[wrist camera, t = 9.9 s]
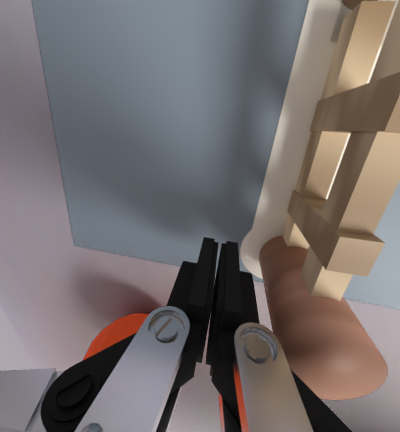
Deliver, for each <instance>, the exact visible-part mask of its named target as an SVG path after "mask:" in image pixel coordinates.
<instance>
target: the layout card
mask: <svg viewBox="0 0 400 432" xmlns="http://www.w3.org/2000/svg"><path fill="white" fill-rule="evenodd" d="M378 1H396V2H395V5H394V8H393V10H392V13H391V16H390V19H389V22H388V25H387V27H386V30H385V33H384V36H383V39H382V41H381V44H380V47H379V50H378V53H377V55H376V58H375V61H374V64H373V67H372V70H371V72H370V75H369V78H368V81H367V83H369V82H370V79H371V76H372V73H373V71H374V68H375V65H376V62H377V60H378V57H379V54H380V51H381V48H382V46H383V43H384V40H385V37H386V35H387V32H388V29H389V26H390V23H391V21H392V18H393V15H394V12H395V9H396V7H397V4H398V1H399V0H378ZM32 6H33V11H34V17H35V23H36V29H37V34H38V40H39V46H40V52H41V57H42V63H43V69H44V75H45V80H46V86H47V92H48V98H49V103H50V109H51V115H52V121H53V126H54V132H55V138H56V144H57V149H58V155H59V161H60V167H61V172H62V178H63V184H64V189H65V195H66V201H67V207H68V212H69V218H70V224H71V230H72V235H73V241H74V246H79V247H84V248H89V249H94V250H99V251H104V252H109V253H114V254H119V255H125V256H130V257H135V258H140V259H145V260H150V261H155V262H160V263H165V264H170V265H175V266H181V265H182V262H183V261H188V262H193V263H197V262H198V258H199V254H200V250H201V246H202V242H203V238H204V237H207V238H213V239H215V240H214V242H219V244H218V253H217V263H216V272H217V267H218V261H219V256H220V250H221V245H222V243H225V244H226V241H231V242H237V243H238V248H239V264H240V271H244V272H249V273H252V276H253V281H257V282H262V283H263V278H262V272H261V267H260V262H259V253H260V250H261V248H262V247H263V245H264V244H265V243H266V242H267V241H269V240H270V239H272V238H274V237H277V236H282V234H283V231H284V227H285V224H286V220H287V217H288V212H287V210H288V206H289V202H290V199H291V195H292V192H293V190H295V188H296V185H297V181H298V178H299V174H300V171H301V167H302V164H303V160H304V157H305V153H306V150H307V146H308V143H309V139H310V136H311V132H312V131H310V127H311V124H312V120H313V117H314V113H315V109H316V106H317V102H318V101H319V100H321V97H322V93H323V90H324V86H325V83H326V79H327V76H328V72H329V69H330V65H331V62H332V58H333V55H334V51H335V48H336V44H337V41H338V37H339V34H340V30H341V26H342V23H343V20H344V19H345V18H346V17H347V15H348V14H349V13H350V12H351V11H352V10H350V9H348V8H347V7H346V6H345V5H344V3H343V1H342V0H32ZM350 135H351V134H348V137H347V140H346V143H345V146H344V148H343V151H342V154H341V157H340V160H339V162H338V165H337V168H336V171H335V174H334V176H333V179H332V182H331V185H330V188H329V191H328V193H327V196H326V199H328V196H329V193H330V190H331V188H332V185H333V182H334V179H335V176H336V174H337V171H338V168H339V165H340V162H341V160H342V157H343V154H344V151H345V149H346V146H347V143H348V140H349V137H350ZM374 235H375V236H377V237H378V238H379V239H381V240H382V241H383V242H385V245H384V247H383V249H382V250H381V252H380V254H379V256H378V258H377V260H376V262H375V263H374V265H373V267H372V269H371V271H370V273H369V275H368V277H366V276H360V275H353V276H352V278H351V280H350V282H349V284H348V286H347V288H346V290H345V292H344V294H343V298H344V299H349V300H354V301H359V302H364V303H369V304H374V305H379V306H384V307H389V308H394V309H399V310H400V181H399V183H398V185H397V187H396V189H395V192H394V194H393V196H392V198H391V200H390V202H389V204H388V206H387V208H386V210H385V212H384V214H383V216H382V218H381V220H380V222H379V224H378V226H377V228H376V230H375V232H374ZM309 246H310V245H309ZM216 272H215V273H216Z"/></svg>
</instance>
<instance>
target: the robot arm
mask: <svg viewBox="0 0 400 432" xmlns="http://www.w3.org/2000/svg"><path fill="white" fill-rule="evenodd" d="M214 240H215V239H213V238H207V237H204V238H203V242H202V246H201V250H200V254H199V258H198V262H197V263H193V262H188V261H183V262H182V265H181V267H180V270H179V273H178V276H177V279H176V281H175V284H174V287H173V290H172V292H171V295H170V298H169V301H168V304H167V306H163V307H160V308H157V309H155V310H154V311H152V312H151V313H150V314H149V315H148V316H147V318H146V319H145V321H144V322H143V324H142V326H141V327H140V329H139V330H138V332H136V333H134V334H132V335H131V336H129V337H127V338H125V339H123V340H121V341H119V342H117V343H115V344H113V345H112V346H110V347H108V348H106V349H104V350H102V351H100V352H98V353H96V354H94V355H93V356H91V357H89V358H87V359H85V360H83V361H81V362H79V363H77V364H75V365H74V366H72V367H70V368H69V369H67V370H66V371H60V372H57V371H56V369H55V368H51V369H30V370H10V371H0V432H168V430H169V427H170V424H171V421H172V418H173V415H174V411H175V408H176V405H177V402H178V399H179V396H180V393H181V390H182V386H183V385H184V384H185V383H186V382H188V381H189V380H190V379H191V378H193V377H194V371H195V365H196V362H199V363H202V357H203V352H204V346H205V341H206V336H207V330H208V325H209V319H210V326H209V336H208V345H207V354H206V364H208V365H211V368H210V375H211V376H212V382H213V384H214V385H215V387H216V389H217V390H218V392H219V407H220V421H221V432H352V431H351V430H350V429H349V428H348V427H347V426H346V425H345V424H344V423H343V422H342V421H341V420H340V419H339V418H338V417H337V416H336V415H335V414H334V413H333V412H332V411H331V410H330V409H329V408H328V407H327V406H326V405H325V404H324V403H323V402H322V401H321V399H320V398H319V397H318V396H317V395H316V394H315V393H314V392H313V391H312V390H311V389H310V388H309V387H308V386H307V385H306V384H305V383H304V382H303V381H302V380H301V379H300V378H299V377H298V376H297V375H296V374H295V373H294V372H293V371H292V370H291V369H290V367H289V365H288V362H287V359H286V357H285V354H284V351H283V349H282V346H281V344H280V342H279V340H278V338H277V337H276V336H275V335H274V333H273V332H272V331H270V330H269V329H268V328H266V327H265V326H263V325H260V324H259V317H258V310H257V303H256V296H255V289H254V283H253V276H252V273H249V272H244V271H240V264H239V248H238V243H237V242H231V241H226V244H225V243H222V245H221V250H220V256H219V261H218V267H217V272H216V263H217V253H218V244H219V242H214ZM215 272H216V278H215ZM214 281H215V283H214ZM211 307H212V308H211ZM210 314H211V317H210Z"/></svg>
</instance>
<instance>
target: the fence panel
mask: <svg viewBox="0 0 400 432" xmlns="http://www.w3.org/2000/svg"><path fill="white" fill-rule="evenodd" d="M395 2H396V1H361V2H360V3H359V4H358V5H357V6H356V7H355V8H354V9H353V10H352V11H351V12H350V13H349V14H348V15H347V17H346V18H345V19H344V20H343V23H342V26H341V30H340V34H339V37H338V41H337V44H336V48H335V51H334V55H333V58H332V62H331V65H330V69H329V72H328V76H327V79H326V83H325V86H324V90H323V93H322V97H321V100H319V101H318V102H317V106H316V109H315V113H314V117H313V120H312V124H311V127H310V131H312V132H311V136H310V139H309V143H308V146H307V150H306V153H305V157H304V160H303V164H302V167H301V171H300V174H299V178H298V181H297V185H296V188H295V190H293V192H292V195H291V199H290V202H289V206H288V210H287V212H288V217H287V220H286V224H285V227H284V231H283V234H282V236H277V237H274V238H272V239H270V240H269V241H267V242H266V243H265V244H264V245H263V247H262V248H261V250H260V253H259V262H260V267H261V272H262V278H263V283H264V288H265V293H266V298H267V303H268V309H269V314H270V319H271V324H272V329H273V333H274V335H275V336H276V337H277V338H278V340H279V342H280V344H281V346H282V349H283V351H284V354H285V357H286V359H287V362H288V365H289V367H290V369H291V370H292V371H293V372H294V373H295V374H296V375H297V376H298V377H299V378H300V379H301V380H302V381H303V382H304V383H305V384H306V385H307V386H308V387H309V388H310V389H311V390H312V391H313V392H314V393H315V394H316V395H317V396H318V397H319V398H320V399H327V400H345V399H352V398H357V397H361V396H364V395H366V394H369V393H371V392H373V391H374V390H376V389H377V388H379V387H380V386H381V385H382V384H383V382H384V381H385V379H386V377H387V373H388V368H387V364H386V362H385V360H384V359H383V357H382V355H381V354H380V352H379V351H378V349H377V348H376V346H375V345H374V343H373V342H372V340H371V339H370V337H369V336H368V334H367V333H366V331H365V330H364V328H363V327H362V325H361V323H360V322H359V320H358V319H357V317H356V316H355V314H354V313H353V311H352V310H351V308H350V307H349V305H348V304H347V302H346V301H345V299H344V298H343V294H344V292H345V290H346V288H347V286H348V284H349V282H350V280H351V278H352V276H353V275H360V276H366V277H368V275H369V273H370V271H371V269H372V267H373V265H374V263H375V262H376V260H377V258H378V256H379V254H380V252H381V250H382V249H383V247H384V245H385V242H383V241H382V240H381V239H379V238H378V237H377V236H375V235H374V232H375V230H376V228H377V226H378V224H379V222H380V220H381V218H382V216H383V214H384V212H385V210H386V208H387V206H388V204H389V202H390V200H391V198H392V196H393V194H394V192H395V189H396V187H397V185H398V183H399V181H400V0H399V1H398V4H397V7H396V9H395V12H394V15H393V18H392V21H391V23H390V26H389V29H388V32H387V35H386V37H385V40H384V43H383V46H382V48H381V51H380V54H379V57H378V60H377V62H376V65H375V68H374V71H373V73H372V76H371V79H370V82H369V83H367V81H368V78H369V75H370V72H371V70H372V67H373V64H374V61H375V58H376V55H377V53H378V50H379V47H380V44H381V41H382V39H383V36H384V33H385V30H386V27H387V25H388V22H389V19H390V16H391V13H392V10H393V8H394V5H395ZM348 134H351V135H350V137H349V140H348V143H347V146H346V149H345V151H344V154H343V157H342V160H341V162H340V165H339V168H338V171H337V174H336V176H335V179H334V182H333V185H332V188H331V190H330V193H329V196H328V199H326V196H327V193H328V191H329V188H330V185H331V182H332V179H333V176H334V174H335V171H336V168H337V165H338V162H339V160H340V157H341V154H342V151H343V148H344V146H345V143H346V140H347V137H348ZM309 245H310V246H309Z"/></svg>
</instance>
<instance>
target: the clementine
mask: <svg viewBox="0 0 400 432" xmlns="http://www.w3.org/2000/svg"><path fill="white" fill-rule="evenodd" d="M148 315H149V314H143V313H135V314H131V315H128V316H125V317H122V318H119V319H117V320H115V321H114V322H113V323H111V324H110V325H109V326H107V327H106V328H105V329H103V330H102V331H101V332H100V333H99V335H98V336H97V337H96V338H95V339H94V340H93V342H92V343H91V345H90V347H89V349H88V351H87V353H86V355H85V357H84V359H83V360H85V359H87V358H89V357H91V356H93V355H94V354H96V353H98V352H100V351H102V350H104V349H106V348H108V347H110V346H112V345H113V344H115V343H117V342H119V341H121V340H123V339H125V338H127V337H129V336H131V335H132V334H134V333H136V332H138V330H139V329H140V327H141V326H142V324H143V322H144V321H145V319H146V318H147V316H148Z"/></svg>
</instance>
